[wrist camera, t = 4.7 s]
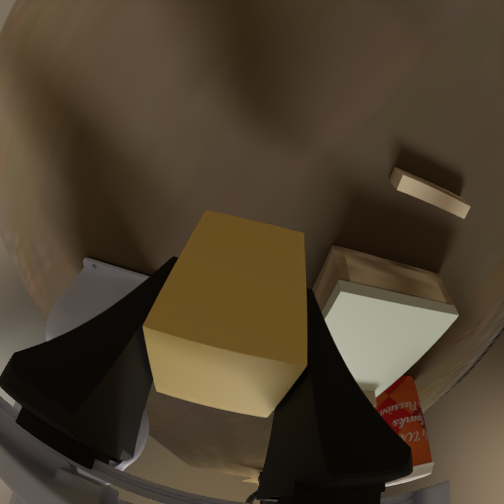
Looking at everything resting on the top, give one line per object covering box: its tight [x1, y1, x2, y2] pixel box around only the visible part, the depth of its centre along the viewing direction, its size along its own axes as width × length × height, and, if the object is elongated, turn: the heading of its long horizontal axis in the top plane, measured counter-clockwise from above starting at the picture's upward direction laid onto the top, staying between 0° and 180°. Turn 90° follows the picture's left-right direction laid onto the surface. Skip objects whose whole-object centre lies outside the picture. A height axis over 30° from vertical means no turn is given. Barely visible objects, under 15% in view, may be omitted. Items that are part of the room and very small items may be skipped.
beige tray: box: [312, 167, 470, 312], centre depth 20 cm, size 10×25×4 cm, turn 169°
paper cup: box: [375, 375, 434, 486], centre depth 24 cm, size 8×8×14 cm
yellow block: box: [143, 210, 307, 418], centre depth 10 cm, size 4×4×6 cm
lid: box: [274, 280, 459, 410], centre depth 20 cm, size 10×18×3 cm, turn 169°
